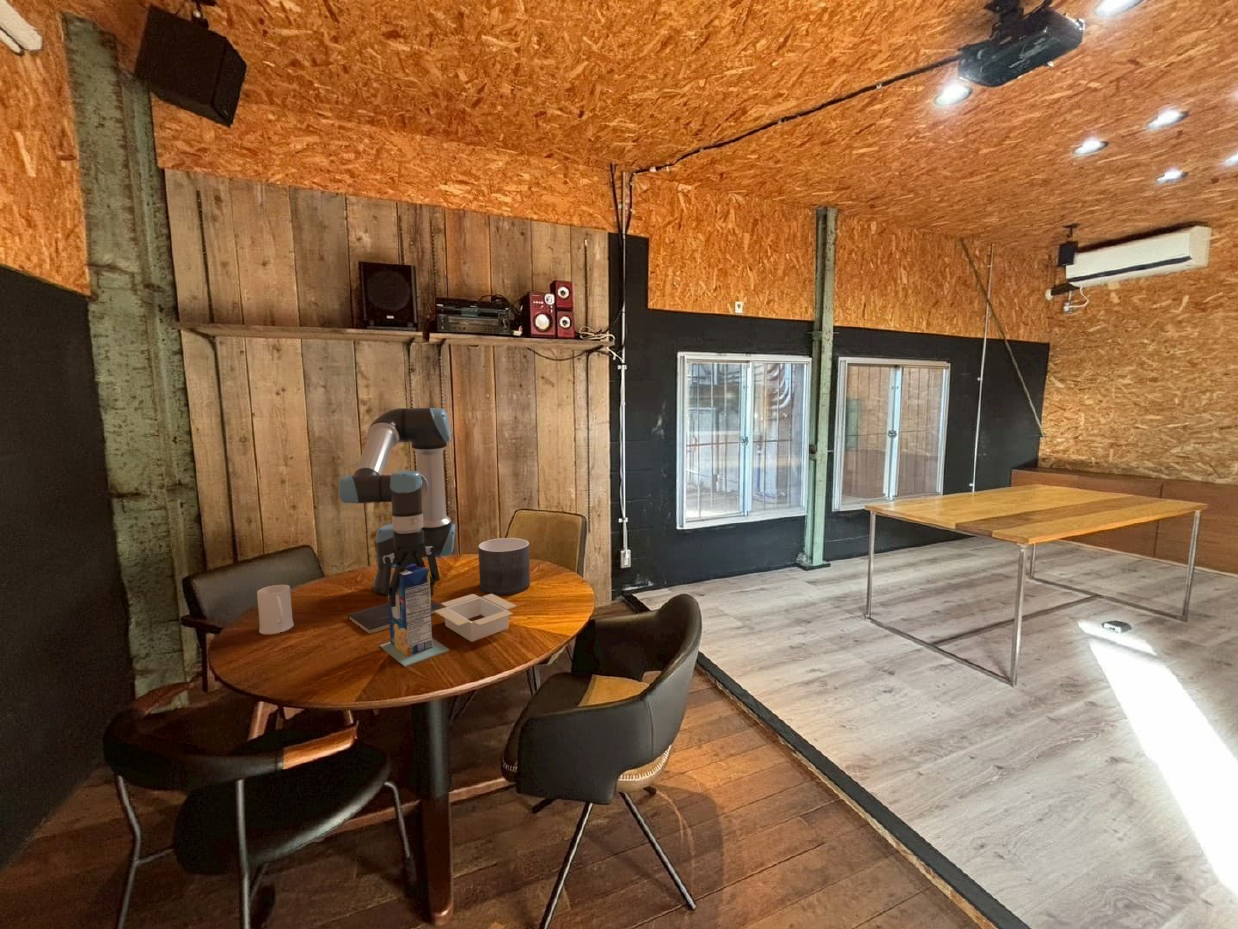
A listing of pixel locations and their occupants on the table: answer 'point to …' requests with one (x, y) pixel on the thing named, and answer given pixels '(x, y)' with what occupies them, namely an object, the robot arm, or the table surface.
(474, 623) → the carton
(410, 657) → the mat
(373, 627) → the hardcover book
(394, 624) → the beverage box
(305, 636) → the table surface
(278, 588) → the mug
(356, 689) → the table surface
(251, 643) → the table surface
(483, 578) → the planter
